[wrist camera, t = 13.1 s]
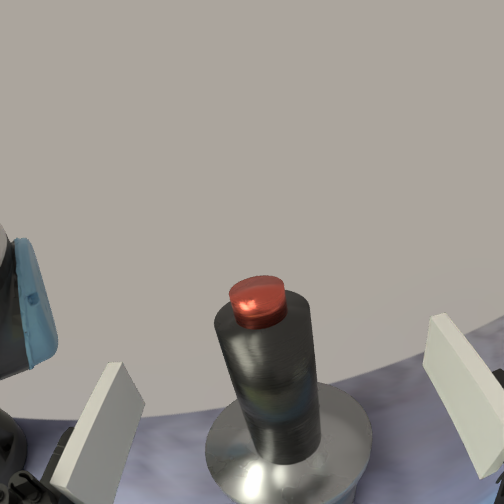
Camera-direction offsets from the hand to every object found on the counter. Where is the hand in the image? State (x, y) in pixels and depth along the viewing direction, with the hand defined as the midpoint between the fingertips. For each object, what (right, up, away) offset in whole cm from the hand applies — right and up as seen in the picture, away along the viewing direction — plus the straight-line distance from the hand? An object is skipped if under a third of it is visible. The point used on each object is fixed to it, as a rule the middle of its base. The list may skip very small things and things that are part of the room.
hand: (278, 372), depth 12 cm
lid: (+1, -7, +5) cm, 9 cm away
